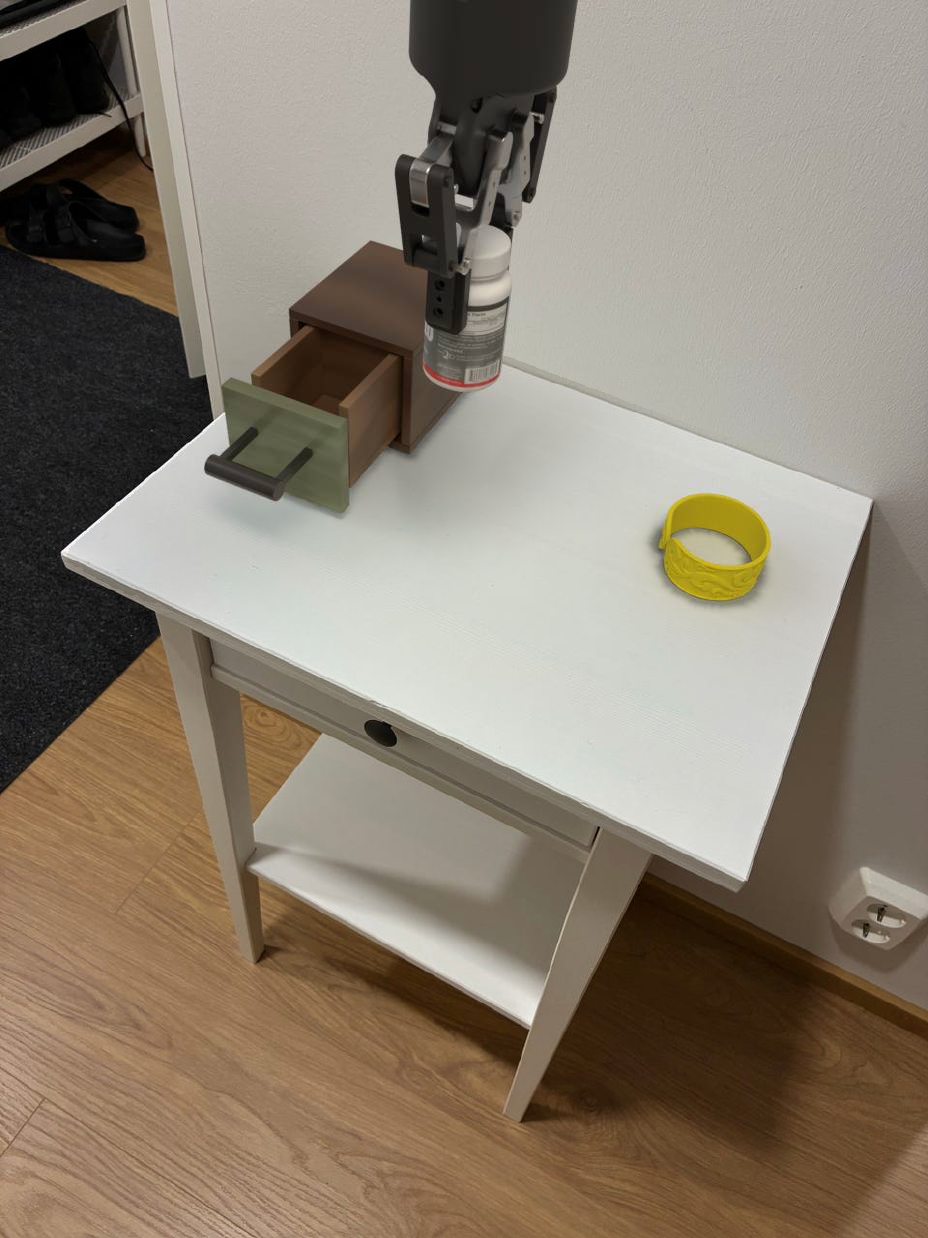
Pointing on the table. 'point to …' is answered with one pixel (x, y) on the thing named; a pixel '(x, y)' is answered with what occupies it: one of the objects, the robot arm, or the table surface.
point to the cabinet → (381, 326)
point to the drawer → (311, 418)
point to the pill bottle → (475, 321)
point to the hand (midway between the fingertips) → (466, 305)
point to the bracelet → (722, 518)
